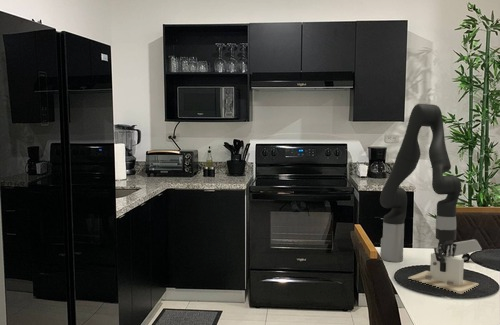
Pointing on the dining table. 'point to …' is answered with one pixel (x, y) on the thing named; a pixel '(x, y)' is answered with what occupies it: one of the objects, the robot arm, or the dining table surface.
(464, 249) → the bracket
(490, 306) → the dining table surface
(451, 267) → the door panel
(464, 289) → the light brown flat board
